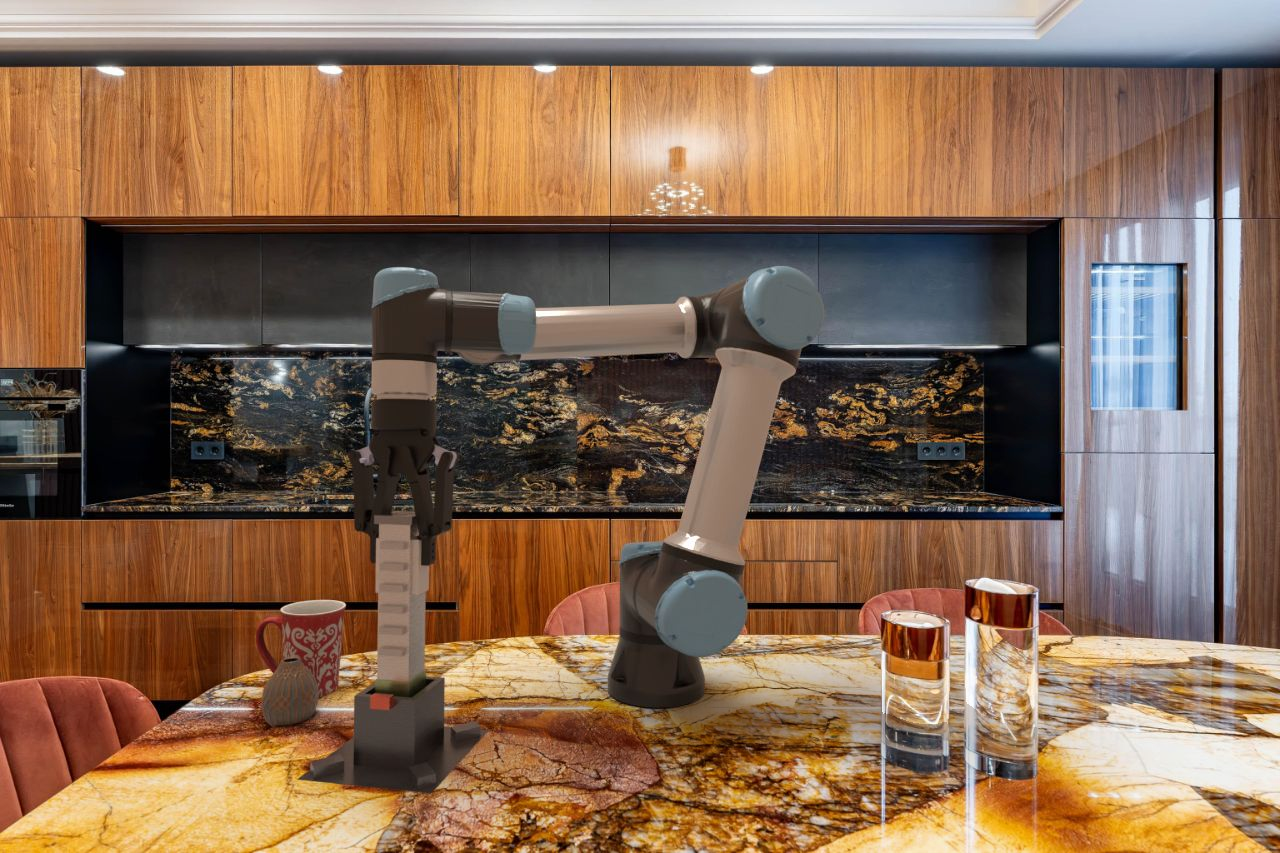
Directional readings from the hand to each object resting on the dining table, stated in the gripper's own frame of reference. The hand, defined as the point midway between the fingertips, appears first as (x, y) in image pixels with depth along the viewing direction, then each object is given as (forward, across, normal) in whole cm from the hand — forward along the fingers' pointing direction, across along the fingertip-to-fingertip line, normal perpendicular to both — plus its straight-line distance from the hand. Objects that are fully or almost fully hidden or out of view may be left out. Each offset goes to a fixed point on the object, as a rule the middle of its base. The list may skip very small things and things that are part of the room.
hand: (402, 590), depth 84 cm
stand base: (+21, 0, 0) cm, 21 cm away
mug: (+21, +25, -16) cm, 36 cm away
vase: (+21, +20, -7) cm, 30 cm away
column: (+13, 0, 0) cm, 13 cm away
